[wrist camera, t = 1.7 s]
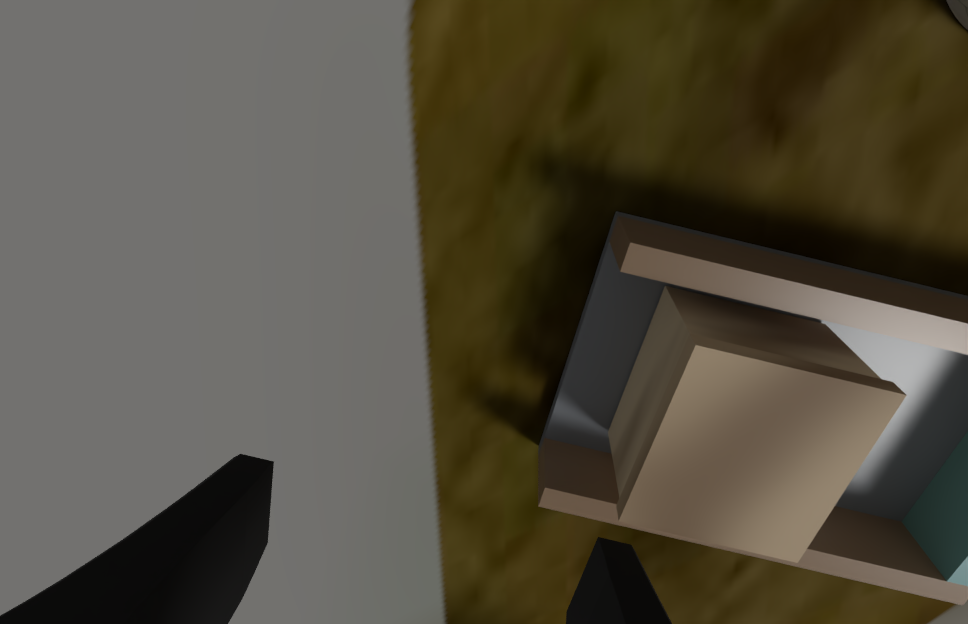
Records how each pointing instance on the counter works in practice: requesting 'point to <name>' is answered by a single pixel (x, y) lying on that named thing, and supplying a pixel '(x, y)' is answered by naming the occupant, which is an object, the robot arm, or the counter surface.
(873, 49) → the counter surface
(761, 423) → the tan wooden block
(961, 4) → the mug
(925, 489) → the bay
